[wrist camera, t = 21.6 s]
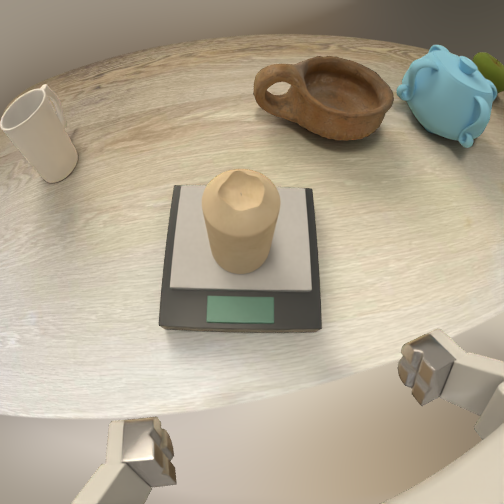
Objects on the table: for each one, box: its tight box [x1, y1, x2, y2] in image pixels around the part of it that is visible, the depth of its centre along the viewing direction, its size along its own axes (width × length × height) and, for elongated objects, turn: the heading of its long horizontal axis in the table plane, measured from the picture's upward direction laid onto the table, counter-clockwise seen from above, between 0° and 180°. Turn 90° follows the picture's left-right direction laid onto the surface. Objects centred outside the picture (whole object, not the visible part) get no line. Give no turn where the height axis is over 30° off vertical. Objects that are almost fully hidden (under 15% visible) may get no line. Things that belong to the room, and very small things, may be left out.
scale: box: [159, 185, 322, 333], centre depth 31 cm, size 15×15×3 cm
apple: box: [472, 53, 504, 93], centre depth 46 cm, size 11×10×10 cm
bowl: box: [253, 56, 394, 141], centre depth 36 cm, size 18×14×10 cm
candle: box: [202, 169, 280, 274], centre depth 25 cm, size 6×6×10 cm
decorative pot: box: [397, 45, 497, 148], centre depth 37 cm, size 16×16×14 cm
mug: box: [0, 84, 78, 183], centre depth 32 cm, size 10×7×12 cm, turn 177°
